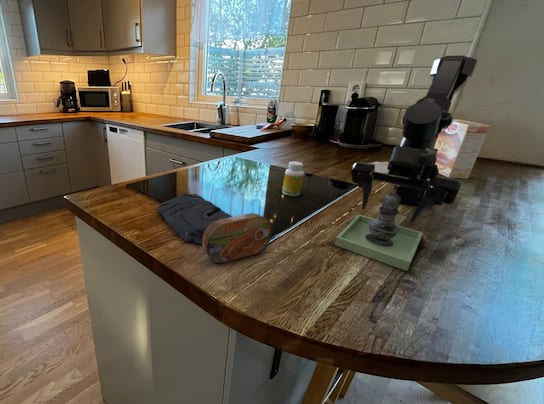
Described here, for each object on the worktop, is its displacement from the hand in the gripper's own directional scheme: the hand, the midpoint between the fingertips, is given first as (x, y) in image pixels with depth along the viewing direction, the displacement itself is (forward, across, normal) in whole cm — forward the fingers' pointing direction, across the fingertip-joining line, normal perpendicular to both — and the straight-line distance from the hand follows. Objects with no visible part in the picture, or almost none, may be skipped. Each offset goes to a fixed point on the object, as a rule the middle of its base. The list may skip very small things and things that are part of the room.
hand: (386, 215), depth 62 cm
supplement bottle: (-6, -27, +16) cm, 32 cm away
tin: (+23, -20, -12) cm, 33 cm away
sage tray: (+4, 0, +6) cm, 7 cm away
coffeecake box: (-53, +5, +63) cm, 82 cm away
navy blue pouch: (+19, -36, -8) cm, 41 cm away
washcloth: (-39, -12, +49) cm, 64 cm away
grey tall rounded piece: (+4, 0, +6) cm, 7 cm away
